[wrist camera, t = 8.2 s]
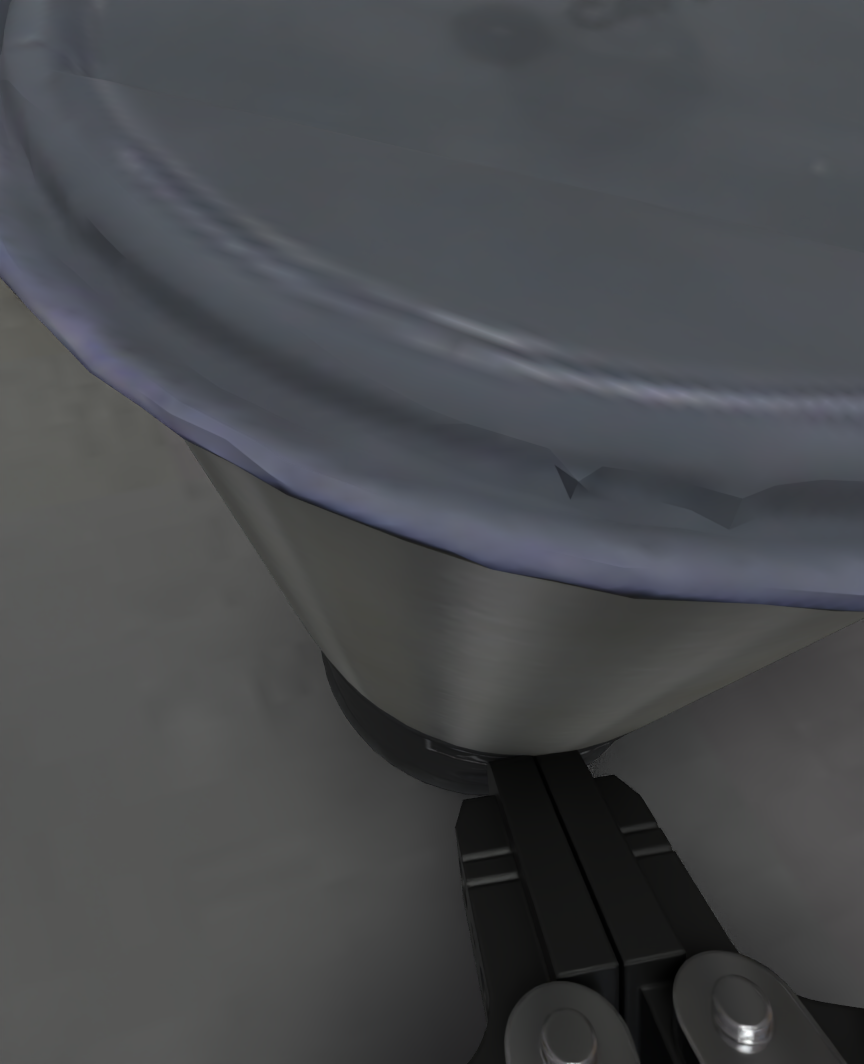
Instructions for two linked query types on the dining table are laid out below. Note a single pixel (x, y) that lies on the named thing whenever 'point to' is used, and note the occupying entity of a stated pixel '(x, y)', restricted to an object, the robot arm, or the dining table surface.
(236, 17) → the milk frother
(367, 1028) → the dining table surface
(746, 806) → the dining table surface
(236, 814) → the dining table surface
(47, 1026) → the dining table surface
